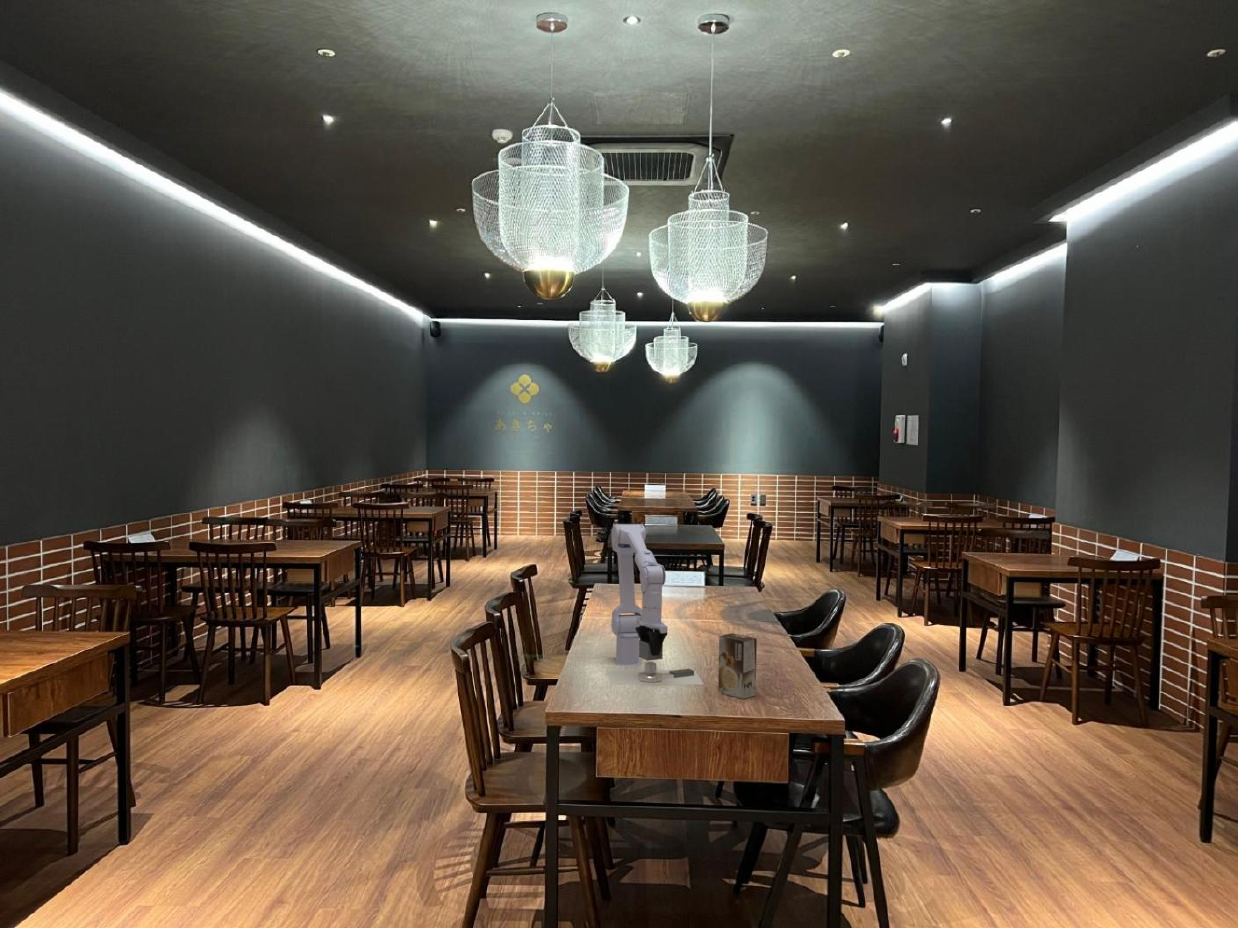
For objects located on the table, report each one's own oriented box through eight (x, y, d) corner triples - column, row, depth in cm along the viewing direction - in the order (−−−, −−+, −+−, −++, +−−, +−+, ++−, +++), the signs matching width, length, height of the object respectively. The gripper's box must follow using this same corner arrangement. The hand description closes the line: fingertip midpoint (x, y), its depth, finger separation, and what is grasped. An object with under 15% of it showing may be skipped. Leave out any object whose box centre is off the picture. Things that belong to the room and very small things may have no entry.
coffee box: (757, 695, 243) (758, 638, 243) (743, 699, 239) (744, 641, 238) (730, 688, 250) (732, 632, 250) (716, 692, 245) (718, 635, 245)
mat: (607, 671, 266) (607, 669, 266) (694, 671, 268) (694, 670, 268) (610, 685, 250) (610, 683, 250) (703, 685, 252) (703, 684, 252)
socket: (638, 656, 256) (639, 639, 256) (653, 655, 259) (653, 638, 259) (647, 660, 252) (648, 643, 252) (662, 658, 254) (662, 641, 254)
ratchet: (633, 677, 257) (634, 661, 257) (684, 671, 266) (685, 655, 266) (646, 683, 251) (646, 666, 251) (698, 677, 260) (698, 660, 259)
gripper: (627, 603, 260) (626, 649, 260) (653, 612, 247) (652, 659, 247) (648, 602, 263) (647, 647, 263) (674, 610, 250) (673, 657, 251)
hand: (650, 653), depth 255 cm, fingers closed on socket, 5 cm apart
